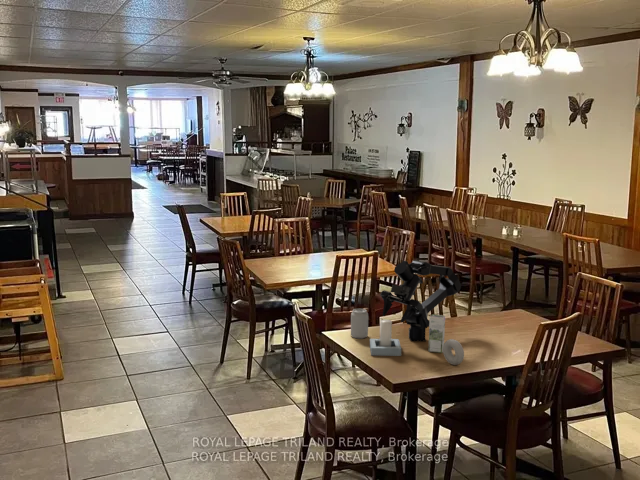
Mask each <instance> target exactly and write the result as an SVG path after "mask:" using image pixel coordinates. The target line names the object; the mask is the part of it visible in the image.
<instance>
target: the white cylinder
mask: <svg viewBox="0 0 640 480" xmlns="http://www.w3.org/2000/svg"><path fill="white" fill-rule="evenodd" d="M392 328H393V321H392V320H390V319H380V320H379V339H380V343H379V347H391V339H392V334H393V332H392V330H393V329H392Z"/></svg>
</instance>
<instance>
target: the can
mask: <svg viewBox="0 0 640 480" xmlns="http://www.w3.org/2000/svg"><path fill="white" fill-rule="evenodd" d="M368 335H369V313H368V310H367V309H365V308H353V309H352V312H351V313H350V336H351V337H352V338H354V339H357V340H358V339H359V340H361V339H362V340H363V339H365V338H367V337H368Z"/></svg>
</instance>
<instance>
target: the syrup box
mask: <svg viewBox="0 0 640 480" xmlns="http://www.w3.org/2000/svg"><path fill="white" fill-rule="evenodd" d="M429 316H430V317H429V319H428V320H429V327H428V352H429V353H439V354H440V353H441V354H443V346H444V343H445V332H446V331H445V329H446V315H442V314H430V315H429Z"/></svg>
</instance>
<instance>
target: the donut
mask: <svg viewBox="0 0 640 480" xmlns="http://www.w3.org/2000/svg"><path fill="white" fill-rule="evenodd" d="M453 350H454V354H455V355H454V354H453ZM442 354H443V356H444V358H445V360H446V361H447V363H448V364H450V365H453V366H457V365H460V364H461V363H462V362H463V360H464V358H465V350H464V348H463V345H462V344H461V343H460V341H458V339H457V340H456V339H453V338H450V339H447V340H445V341H444V346H443V352H442Z"/></svg>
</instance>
